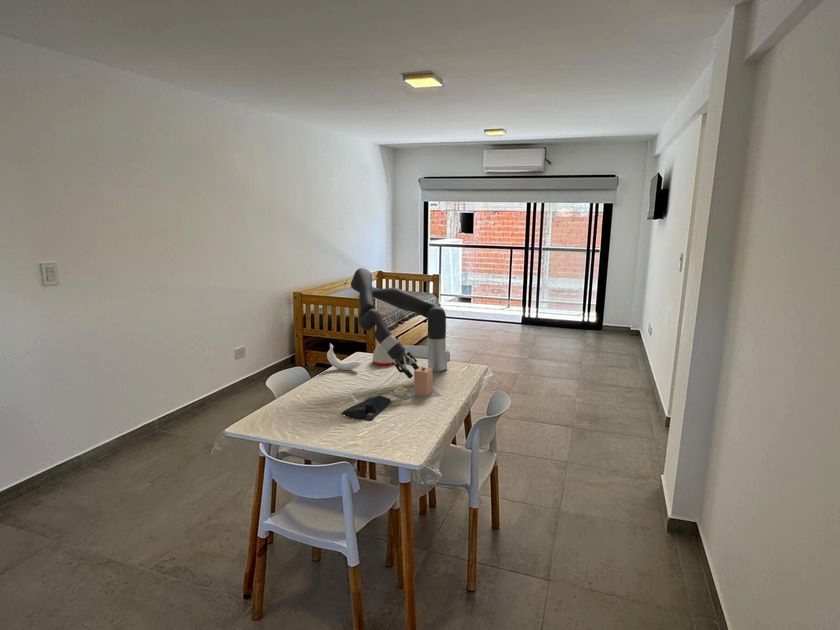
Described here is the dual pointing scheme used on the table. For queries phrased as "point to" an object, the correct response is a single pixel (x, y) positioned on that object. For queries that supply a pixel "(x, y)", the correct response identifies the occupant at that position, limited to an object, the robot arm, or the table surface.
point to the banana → (341, 364)
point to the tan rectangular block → (423, 381)
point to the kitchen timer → (381, 357)
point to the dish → (400, 392)
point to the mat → (418, 397)
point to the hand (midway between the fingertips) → (415, 374)
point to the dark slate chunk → (367, 408)
